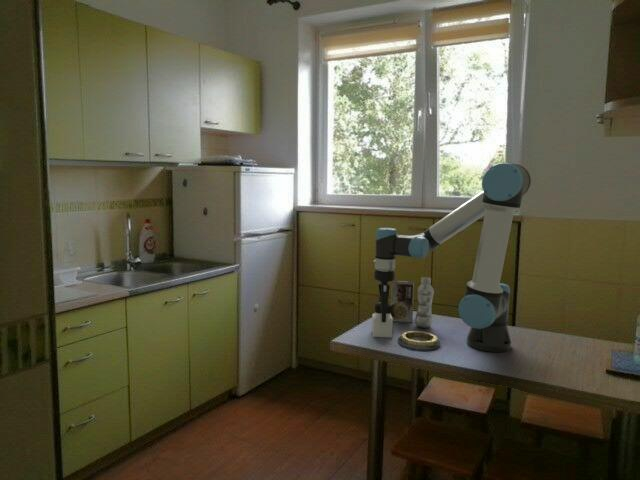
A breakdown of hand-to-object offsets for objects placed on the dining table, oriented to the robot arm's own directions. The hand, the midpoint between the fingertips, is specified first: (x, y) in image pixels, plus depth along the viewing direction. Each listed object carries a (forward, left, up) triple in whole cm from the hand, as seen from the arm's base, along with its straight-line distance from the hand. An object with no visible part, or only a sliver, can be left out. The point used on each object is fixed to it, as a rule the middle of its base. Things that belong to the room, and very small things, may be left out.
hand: (382, 324), depth 185 cm
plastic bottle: (-17, -12, -4) cm, 21 cm away
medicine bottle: (0, 0, -4) cm, 4 cm away
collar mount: (-13, +8, -4) cm, 16 cm away
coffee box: (-9, -21, -4) cm, 23 cm away
